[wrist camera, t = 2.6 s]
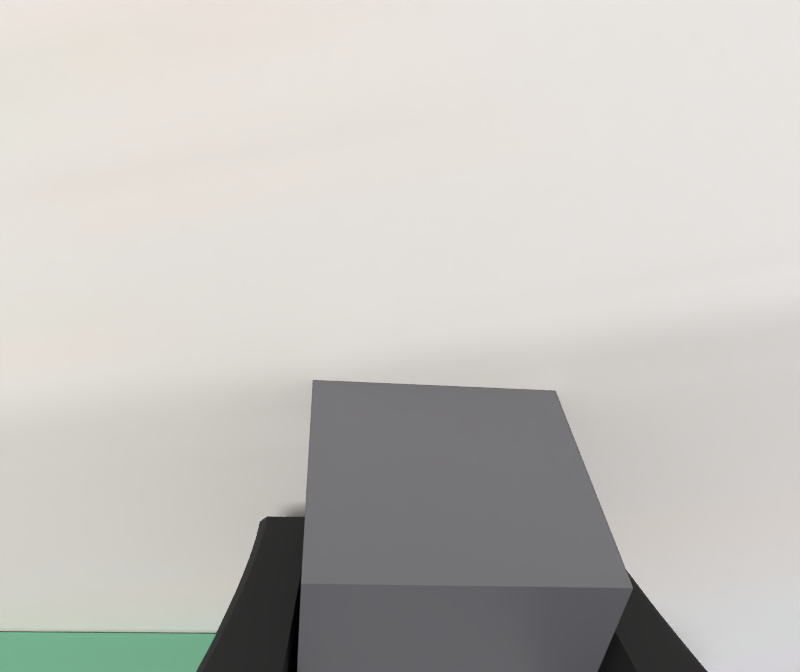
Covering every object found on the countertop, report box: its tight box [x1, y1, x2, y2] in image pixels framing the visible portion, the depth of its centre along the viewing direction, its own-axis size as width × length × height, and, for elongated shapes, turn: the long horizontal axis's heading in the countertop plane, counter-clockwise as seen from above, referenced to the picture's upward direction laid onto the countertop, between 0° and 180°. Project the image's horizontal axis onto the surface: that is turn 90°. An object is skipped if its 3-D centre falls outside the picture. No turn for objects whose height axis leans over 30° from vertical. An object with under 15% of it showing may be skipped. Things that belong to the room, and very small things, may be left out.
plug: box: [297, 380, 633, 672], centre depth 12 cm, size 4×5×4 cm
